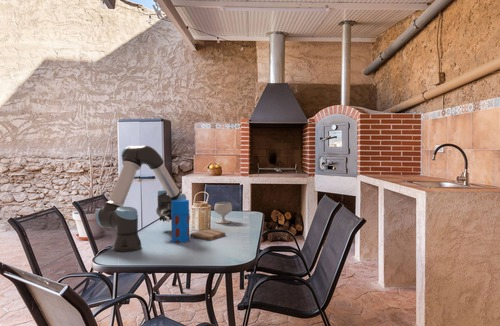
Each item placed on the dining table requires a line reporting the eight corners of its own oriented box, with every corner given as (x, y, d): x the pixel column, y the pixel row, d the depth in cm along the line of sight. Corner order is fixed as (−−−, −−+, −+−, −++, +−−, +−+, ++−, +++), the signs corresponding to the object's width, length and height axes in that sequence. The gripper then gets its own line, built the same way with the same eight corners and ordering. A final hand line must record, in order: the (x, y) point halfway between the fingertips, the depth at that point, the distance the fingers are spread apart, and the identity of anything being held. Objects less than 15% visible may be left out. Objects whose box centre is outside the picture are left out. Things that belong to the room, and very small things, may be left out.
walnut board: (208, 240, 215) (208, 237, 215) (190, 236, 225) (190, 233, 225) (225, 235, 228) (225, 232, 228) (207, 232, 238) (207, 229, 238)
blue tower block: (185, 243, 210) (185, 202, 209) (168, 242, 212) (168, 201, 211) (191, 238, 221) (191, 199, 220) (175, 237, 223) (175, 199, 222)
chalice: (210, 222, 272) (210, 203, 271) (225, 219, 281) (225, 201, 280) (221, 224, 261) (221, 205, 261) (235, 222, 270) (235, 203, 270)
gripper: (185, 217, 244) (197, 222, 226) (149, 221, 231) (160, 227, 213) (185, 206, 244) (197, 210, 226) (149, 210, 230) (159, 214, 212)
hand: (179, 218), depth 219 cm, fingers open, 13 cm apart
